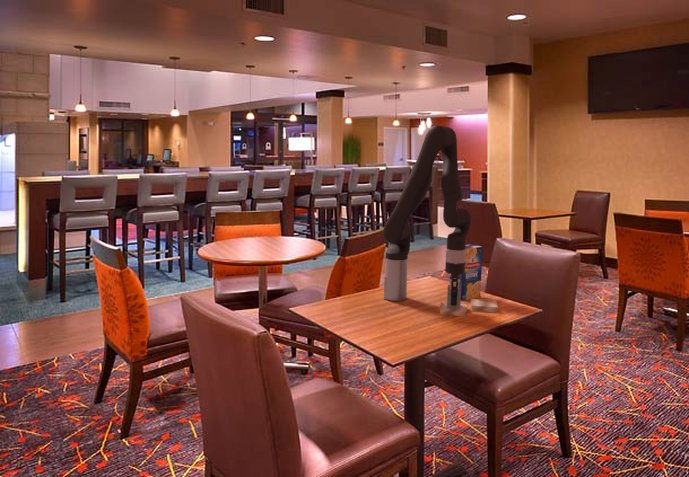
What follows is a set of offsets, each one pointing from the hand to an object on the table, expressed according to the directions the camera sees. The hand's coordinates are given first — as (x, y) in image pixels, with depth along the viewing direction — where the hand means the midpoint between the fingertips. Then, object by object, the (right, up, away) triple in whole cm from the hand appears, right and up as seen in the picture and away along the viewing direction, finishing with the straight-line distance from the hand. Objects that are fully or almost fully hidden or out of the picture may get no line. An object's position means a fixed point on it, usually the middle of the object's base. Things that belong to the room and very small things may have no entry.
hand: (453, 303), depth 213 cm
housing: (0, -1, 0) cm, 1 cm away
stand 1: (0, -3, +1) cm, 3 cm away
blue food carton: (+9, 0, +22) cm, 24 cm away
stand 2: (+13, -3, +6) cm, 15 cm away
